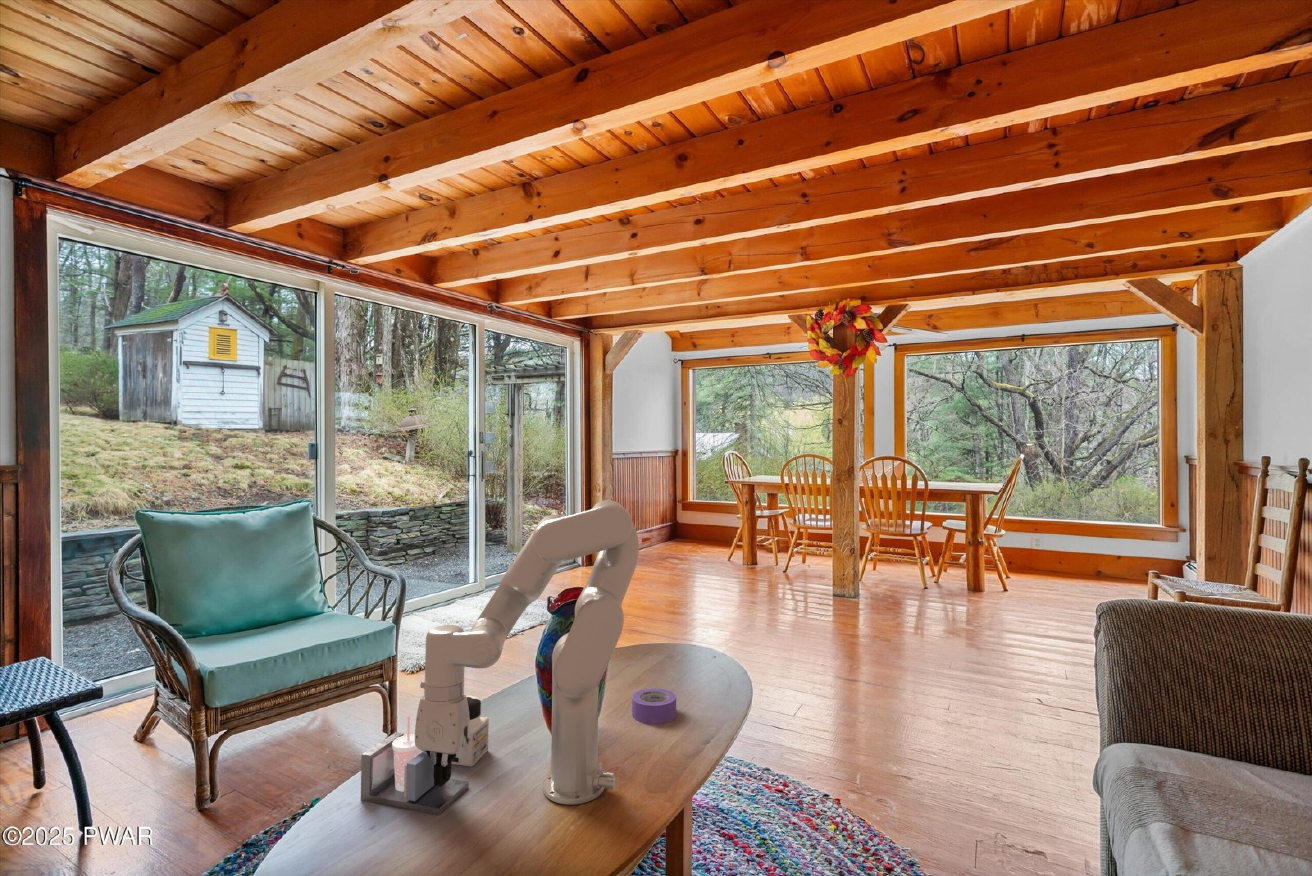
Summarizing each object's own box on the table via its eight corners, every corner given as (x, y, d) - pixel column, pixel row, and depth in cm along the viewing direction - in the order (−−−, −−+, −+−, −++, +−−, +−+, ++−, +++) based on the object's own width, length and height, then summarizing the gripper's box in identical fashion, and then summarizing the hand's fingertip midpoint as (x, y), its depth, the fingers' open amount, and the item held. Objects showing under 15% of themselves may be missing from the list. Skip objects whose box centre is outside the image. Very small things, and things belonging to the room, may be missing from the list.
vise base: (468, 787, 126) (469, 743, 126) (438, 815, 117) (439, 767, 117) (394, 774, 131) (395, 732, 131) (360, 800, 121) (361, 754, 122)
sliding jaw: (443, 777, 127) (444, 743, 128) (414, 801, 119) (415, 764, 119) (433, 775, 128) (433, 741, 128) (404, 799, 119) (404, 762, 119)
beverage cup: (392, 780, 127) (394, 711, 127) (424, 775, 129) (425, 708, 129) (389, 795, 121) (390, 724, 121) (422, 790, 123) (423, 720, 123)
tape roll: (623, 717, 161) (623, 698, 161) (648, 702, 170) (648, 684, 170) (660, 729, 154) (660, 709, 154) (684, 712, 164) (684, 694, 164)
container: (472, 767, 134) (473, 707, 135) (440, 763, 136) (441, 704, 136) (488, 750, 142) (489, 694, 142) (458, 747, 144) (459, 691, 144)
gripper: (400, 692, 121) (397, 786, 120) (466, 701, 117) (464, 799, 116) (424, 679, 128) (421, 767, 128) (487, 687, 124) (485, 778, 124)
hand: (442, 782), depth 122 cm, fingers closed
